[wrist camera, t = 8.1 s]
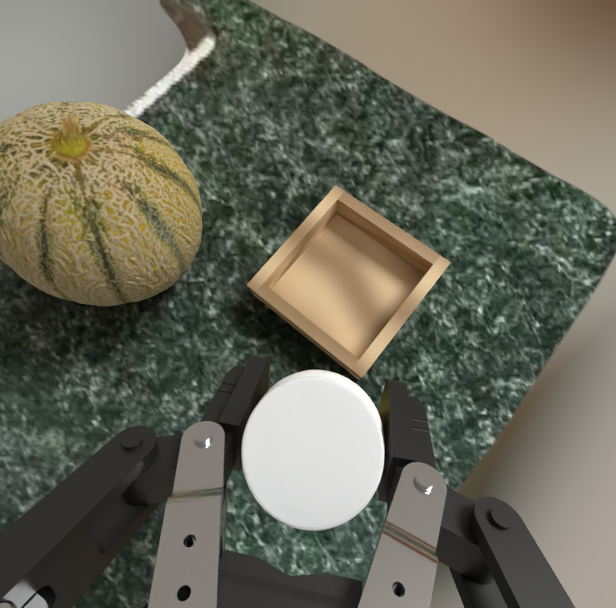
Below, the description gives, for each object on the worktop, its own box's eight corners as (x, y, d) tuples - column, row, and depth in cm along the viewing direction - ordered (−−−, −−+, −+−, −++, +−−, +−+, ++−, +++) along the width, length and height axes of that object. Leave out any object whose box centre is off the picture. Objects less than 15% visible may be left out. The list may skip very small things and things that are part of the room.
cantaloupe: (47, 252, 34) (-156, 145, 20) (162, 160, 37) (54, 3, 22) (135, 359, 31) (-33, 322, 17) (256, 249, 33) (200, 133, 19)
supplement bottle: (308, 361, 18) (294, 329, 10) (383, 415, 18) (434, 426, 9) (252, 440, 18) (191, 471, 9) (330, 501, 17) (335, 594, 9)
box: (358, 380, 29) (361, 377, 26) (254, 295, 32) (246, 284, 29) (439, 275, 31) (450, 262, 28) (335, 203, 34) (335, 185, 31)
